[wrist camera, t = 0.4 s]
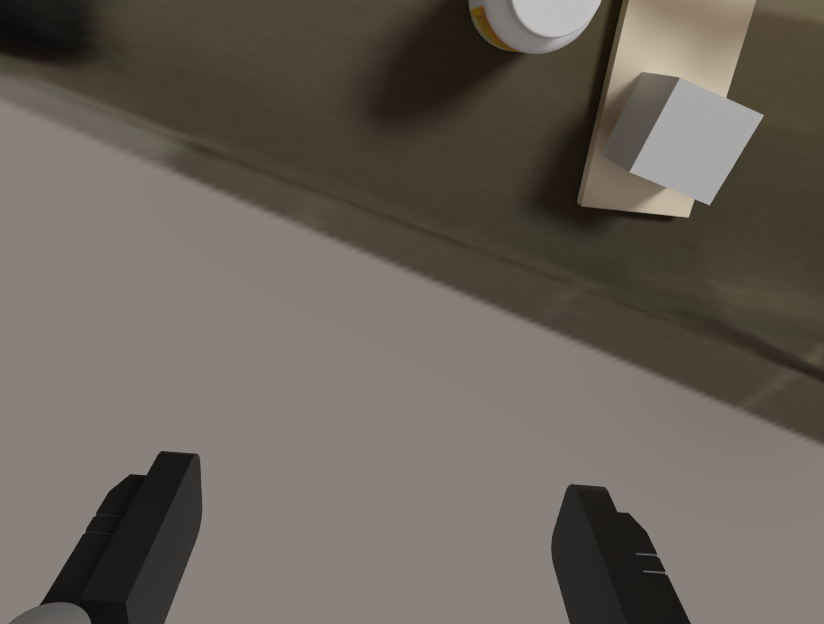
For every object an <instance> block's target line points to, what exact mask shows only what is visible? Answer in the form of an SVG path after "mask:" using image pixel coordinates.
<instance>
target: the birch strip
mask: <svg viewBox="0 0 824 624" xmlns="http://www.w3.org/2000/svg"><path fill="white" fill-rule="evenodd" d="M755 3H756V0H623V2H622V6H621V10H620V15H619V19H618V23H617V28H616V32H615V37H614V41H613V45H612V50H611V54H610V59H609V63H608V67H607V72H606V76H605V80H604V85H603V89H602V94H601V98H600V102H599V107H598V111H597V115H596V120H595V124H594V129H593V133H592V137H591V142H590V146H589V151H588V155H587V159H586V164H585V168H584V172H583V177H582V181H581V186H580V190H579V194H578V199H577V203H578V204H579V205H580V206H583V207H593V208H603V209H612V210H622V211H632V212H641V213H651V214H661V215H671V216H680V217H689V215H690V211H691V208H692V205H693V202H694V199H693V198H691V197H688V196H686V195H684V194H681V193H679V192H676V191H674V190H672V189H669V188H667V187H664V186H662V185H659V184H657V183H655V182H652V181H650V180H647V179H645V178H643V177H640V176H638V175H635V174H633V173H630V172H628V171H627V170H625V169H623V168H622V167H620V166H618V165H617V164H615V163H613V162H612V161H610V160H608V159H606V158H605V157H603V156H601V155H600V154H601V152H602V150H603V148H604V146H605V144H606V143H607V141H608V139H609V137H610V135H611V133H612V131H613V129H614V127H615V125H616V123H617V121H618V119H619V117H620V115H621V113H622V111H623V109H624V107H625V105H626V103H627V101H628V99H629V97H630V95H631V93H632V91H633V89H634V87H635V86H636V84H637V82H638V80H639V78H640V76H641V74H642V72H648V73H654V74H661V75H667V76H674V77H680V78H682V79H685V80H687V81H689V82H691V83H693V84H696V85H698V86H700V87H702V88H705V89H707V90H709V91H711V92H713V93H716V94H718V95H720V96H722V97H724V98H726V96H727V93H728V89H729V86H730V83H731V80H732V77H733V73H734V70H735V67H736V64H737V61H738V57H739V54H740V51H741V48H742V45H743V41H744V38H745V35H746V32H747V29H748V25H749V22H750V19H751V16H752V12H753V9H754V6H755Z"/></svg>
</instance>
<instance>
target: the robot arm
mask: <svg viewBox="0 0 824 624" xmlns="http://www.w3.org/2000/svg"><path fill="white" fill-rule="evenodd" d="M201 518H202V491H201V471H200V458H199V455H198V454H193V453H180V452H167V451H161V452H160V453H159V454H158V456H157V457H156V459H155V461H154V463H153V465H152V466H151V468H150V470H149V472H148V474H147V475H134V474H130V475H129V476H128V477H126V478H125V479H124V480H123V481H121V482H120V483H119V484H118V485H117V486H115V487H114V488H113V489H112V490H110V491H109V492H108V494H107V496H106V498H105V499H104V501H103V503H102V504H101V506H100V507H99V509H98V511H97V513H96V516H95V517H93V519H92V521H91V522H90V524H89V526H88V527H87V529H86V533H85V534H83V535H82V537H81V539H80V540H79V542H78V544H77V545H76V547H75V549H74V550H73V552H72V554H71V555H70V557H69V559H68V560H67V562H66V564H65V565H64V567H63V569H62V570H61V572H60V573H59V575H58V577H57V578H56V580H55V582H54V583H53V585H52V587H51V588H50V590H49V592H48V593H47V595H46V597H45V598H44V600H43V601H42V603H41V604H40V605H39V606H38V607H35V608H32V609H30V610H28V611H26V612H24V613H23V614H21V615H19V616H18V617H16V618H15V619H14V620H12V621H11V622H10V623H9V624H164V623H165V620H166V617H167V615H168V612H169V609H170V607H171V604H172V602H173V599H174V596H175V594H176V591H177V588H178V586H179V583H180V580H181V578H182V576H183V573H184V570H185V568H186V565H187V562H188V560H189V557H190V555H191V552H192V549H193V547H194V544H195V542H196V539H197V536H198V533H199V529H200V523H201ZM551 551H552V560H553V565H554V569H555V572H556V576H557V579H558V583H559V586H560V590H561V593H562V597H563V601H564V604H565V608H566V611H567V614H568V618H569V622H570V624H691V623H690V621H689V619H688V617H687V615H686V613H685V611H684V609H683V607H682V605H681V602H680V600H679V598H678V596H677V594H676V592H675V590H674V588H673V586H672V584H671V582H670V580H669V578H668V576H667V575H665V569H664V567H663V565H662V563H661V561H660V559H659V558H657V553H656V550H655V548H654V546H653V544H652V542H651V541H650V538H649V536H648V534H647V532H646V531H645V530H644V529H643V528H642V527H641V526H640V525H639V523H637V521H635V519H634V518H633V517H632V516H631V515H630V514H629V513H621V512H617V510H616V508H615V506H614V504H613V501H612V499H611V497H610V495H609V492H608V490H607V489H606V488H605V487H599V486H585V485H574V484H571V485H569V486H568V488H567V490H566V492H565V496H564V499H563V503H562V505H561V509H560V512H559V516H558V518H557V522H556V525H555V528H554V532H553V536H552V546H551Z"/></svg>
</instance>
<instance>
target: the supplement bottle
mask: <svg viewBox="0 0 824 624" xmlns="http://www.w3.org/2000/svg"><path fill="white" fill-rule="evenodd" d="M600 2H601V0H469V10H470V14H471V18H472V21H473V23H474V25H475V27H476V29H477V31H478V32H479V33H480V35H481V36H482V37H483V38H484V39H485V40H486V41H487V42H489V43H490V44H491V45H493V46H495V47H497V48H500V49H503V50H506V51H514V52H521V53H527V54H543V53H548V52H552V51H555V50H558V49H560V48H562V47H564V46H566V45H567V44H569V43H570V42H572V41H573V40H574V39H576V38H577V37H578V36H579V35H580V34H581V33H582V32H583V31H584V29H585V28H586V27H587V25H588V24H589V22H590V21H591V19H592V17H593V15H594V14H595V12H596V10H597V9H598V7H599V5H600Z"/></svg>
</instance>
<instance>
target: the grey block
mask: <svg viewBox="0 0 824 624" xmlns="http://www.w3.org/2000/svg"><path fill="white" fill-rule="evenodd" d="M763 116H764V115H762V114H760V113H758V112H755V111H753V110H751V109H749V108H747V107H744V106H742V105H740V104H738V103H735V102H733V101H731V100H729V99H727V98H724V97H722V96H720V95H718V94H716V93H713V92H711V91H709V90H707V89H705V88H702V87H700V86H698V85H696V84H693V83H691V82H689V81H687V80H685V79H682V78H680V77H674V76H667V75H661V74H654V73H648V72H642V74H641V76H640V78H639V80H638V82H637V84H636V86H635V87H634V89H633V91H632V93H631V95H630V97H629V99H628V101H627V103H626V105H625V107H624V109H623V111H622V113H621V115H620V117H619V119H618V121H617V123H616V125H615V127H614V129H613V131H612V133H611V135H610V137H609V139H608V141H607V143H606V144H605V146H604V148H603V150H602V152H601V154H600V155H601V156H603V157H605V158H606V159H608V160H610V161H612V162H613V163H615V164H617V165H618V166H620V167H622V168H623V169H625V170H627V171H628V172H630V173H633V174H635V175H638V176H640V177H643V178H645V179H647V180H650V181H652V182H655V183H657V184H659V185H662V186H664V187H667V188H669V189H672V190H674V191H676V192H679V193H681V194H684V195H686V196H688V197H691V198H693V199H696V200H698V201H701V202H703V203H705V204H708V205H710V204H711V202H712V200H713V199H714V197H715V195H716V194H717V192H718V190H719V189H720V187H721V185H722V184H723V182H724V180H725V179H726V177H727V176H728V174H729V172H730V171H731V169H732V167H733V166H734V164H735V162H736V161H737V159H738V157H739V156H740V154H741V152H742V151H743V149H744V147H745V146H746V144H747V142H748V141H749V139H750V137H751V136H752V134H753V132H754V131H755V129H756V127H757V126H758V124H759V123H760V121H761V119H762V118H763Z"/></svg>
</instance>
